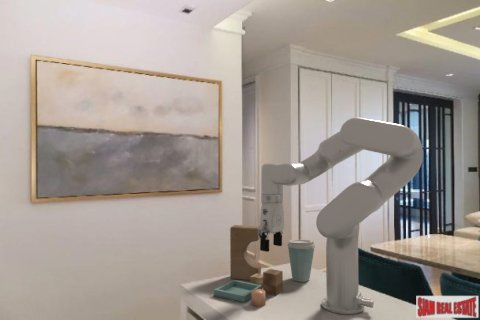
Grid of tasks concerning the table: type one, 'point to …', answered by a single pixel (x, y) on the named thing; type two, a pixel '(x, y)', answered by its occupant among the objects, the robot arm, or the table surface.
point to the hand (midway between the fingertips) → (271, 248)
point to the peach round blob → (258, 297)
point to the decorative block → (242, 252)
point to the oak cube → (257, 279)
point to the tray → (236, 291)
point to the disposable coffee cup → (301, 258)
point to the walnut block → (273, 281)
